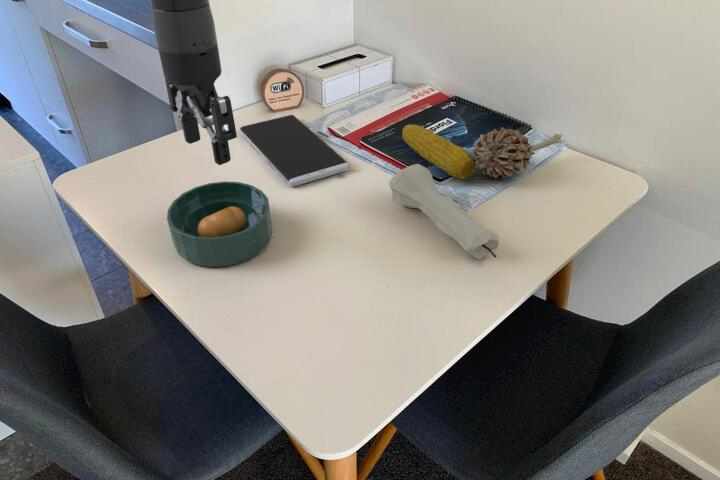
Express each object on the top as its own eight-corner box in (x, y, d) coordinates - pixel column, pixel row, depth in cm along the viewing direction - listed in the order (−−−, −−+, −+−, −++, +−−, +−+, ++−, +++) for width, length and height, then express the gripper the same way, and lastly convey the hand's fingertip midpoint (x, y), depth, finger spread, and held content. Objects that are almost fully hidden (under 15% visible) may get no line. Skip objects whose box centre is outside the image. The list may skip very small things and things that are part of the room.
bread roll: (209, 252, 84) (204, 230, 81) (195, 239, 87) (190, 217, 84) (252, 230, 89) (249, 209, 86) (238, 218, 91) (235, 198, 88)
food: (477, 179, 103) (481, 152, 99) (455, 187, 101) (459, 160, 97) (411, 136, 117) (413, 112, 113) (391, 143, 114) (392, 118, 111)
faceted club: (419, 182, 100) (515, 257, 85) (384, 205, 98) (476, 286, 83) (414, 147, 94) (518, 221, 79) (376, 171, 92) (475, 252, 76)
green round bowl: (173, 275, 80) (164, 245, 77) (176, 215, 93) (169, 187, 89) (277, 261, 83) (273, 231, 80) (267, 204, 96) (264, 176, 92)
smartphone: (292, 119, 123) (292, 112, 122) (351, 171, 105) (351, 163, 104) (239, 132, 117) (238, 125, 116) (291, 189, 100) (290, 181, 98)
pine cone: (489, 196, 99) (498, 149, 92) (456, 173, 105) (462, 128, 99) (569, 166, 108) (582, 121, 102) (534, 146, 114) (545, 103, 108)
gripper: (135, 33, 70) (161, 142, 80) (188, 62, 62) (210, 179, 72) (186, 23, 74) (205, 128, 84) (242, 48, 66) (256, 161, 76)
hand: (207, 151), depth 78 cm, fingers open, 8 cm apart
